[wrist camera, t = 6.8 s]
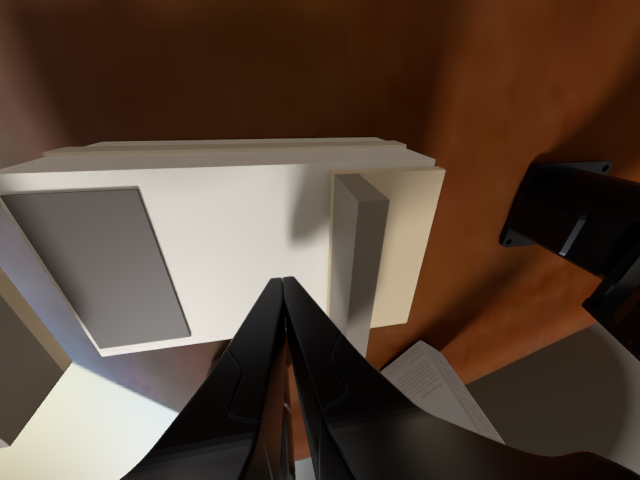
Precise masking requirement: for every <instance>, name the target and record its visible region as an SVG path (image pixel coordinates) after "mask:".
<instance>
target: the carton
mask: <svg viewBox="0 0 640 480" xmlns="http://www.w3.org/2000/svg"><path fill="white" fill-rule="evenodd" d="M406 146H407V145H406V144H403V143H401V142H398V141H385V140H382V139H379V138H377V137H356V138H296V139H236V140H176V141H116V142H99V143H95V144H92V145H88V146H84V147H63V148H59V149H55V150H51V151H47V152H43V153H42V154H43V156H44V158H40V159H37V160H33V161H29V162H26V163H22V164H18V165H15V166H11V167H7V168H4V169H0V204H1V206H2V207H3V209H4V210H5V212H6V213H7V215H8V216H9V218H10V219H11V221H12V222H13V224H14V225H15V227H16V228H17V230H18V231H19V233H20V234H21V236H22V237H23V239H24V240H25V242H26V243H27V245H28V246H29V248H30V249H31V251H32V252H33V254H34V255H35V257H36V258H37V260H38V261H39V263H40V264H41V266H42V267H43V269H44V270H45V272H46V273H47V275H48V276H49V278H50V279H51V281H52V282H53V284H54V285H55V287H56V288H57V290H58V291H59V293H60V294H61V296H62V297H63V299H64V300H65V302H66V303H67V305H68V306H69V308H70V309H71V311H72V312H73V314H74V315H75V317H76V318H77V320H78V321H79V323H80V324H81V326H82V327H83V329H84V330H85V332H86V333H87V335H88V336H89V338H90V339H91V341H92V343H93V344H94V346H95V347H96V349H97V350H98V352H99V353H100V355H101V356H102V357H104V356H111V355H118V354H125V353H132V352H139V351H147V350H154V349H161V348H168V347H175V346H182V345H190V344H197V343H204V342H211V341H218V340H225V339H233V337H234V335H235V334H236V332H237V331H238V329H239V328H240V326H241V324H242V323H243V321H244V320H245V318H246V316H247V315H248V313H249V312H250V310H251V308H252V307H253V305H254V304H255V302H256V301H257V299H258V297H259V296H260V294H261V293H262V291H263V289H264V288H265V286H266V285H267V283H268V281H269V280H270V279H271V278H277V277H281V278H283V277H287V276H294V277H295V278H296V279H297V280H298V282H299V283H300V284H301V285H302V286H303V287H304V289H305V290H306V291H307V292H308V293H309V295H310V296H311V297H312V298H313V299H314V300H315V302H316V303H317V304H318V305H319V306H320V308H321V309H322V310H323V311H324V312H325V313H326V315H327V288H328V256H329V223H330V190H331V170H354V169H381V168H407V167H433V166H434V165H435V159H433V158H430V157H427V156H425V155H422V154H419V153H417V152H414V151H411V150H409V149H406ZM282 282H283V281H282ZM285 321H286V320H285Z"/></svg>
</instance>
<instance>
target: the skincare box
mask: <svg viewBox="0 0 640 480" xmlns="http://www.w3.org/2000/svg"><path fill="white" fill-rule="evenodd" d="M380 373H381V374H382V375H383V376H385V377H386V378H387V379H388V380H389V381H390V382H391V383H392V384H393V385H394V386H395V387H396V388H398V389H399V390H400V391H401V392H402V393H403V394H404V395H405V396H406V397H407V398H409V399H410V400H411V401H412V402H413V403H414V404H416V405H417V406H418V407H420V408H421V409H423V410H424V411H426V412H428V413H430V414H431V415H434V416H436V417H438V418H441V419H443V420H446V421H448V422H451V423H453V424H456V425H458V426H460V427H463V428H465V429H468V430H470V431H473V432H475V433H478V434H480V435H483V436H485V437H488V438H490V439H493V440H495V441H497V442H500V443H502V444H505V443H504V441H503V440H502V439H501V437H500V436H499V434H498V433H497V431H496V430H495V429H494V427H493V426H492V424H491V423H490V422H489V420H488V419H487V417H486V416H485V414H484V413H483V412H482V410H481V409H480V407H479V406H478V404H477V403H476V402H475V400H474V399H473V397H472V396H471V394H470V393H469V392H468V390H467V389H466V387H465V386H464V384H463V383H462V382H461V380H460V379H459V377H458V376H457V374H456V373H455V372H454V370H453V369H452V367H451V366H450V364H449V363H448V362H447V360H446V359H445V357H444V356H443V354H442V353H440V352H439V351H437V350H436V349H434V348H433V347H431V346H430V345H428V344H427V343H425V342H423V341H421V340H420V341H418V342H417V343H416V344H414V345H413V346H412V347H410V348H409V349H408V350H407V351H405V352H404V353H403V354H402V355H400V356H399V357H398V358H397V359H395V360H394V361H393V362H392V363H390V364H389V365H388V366H387V367H385V368H384V369H383V370H382V371H381V372H380Z"/></svg>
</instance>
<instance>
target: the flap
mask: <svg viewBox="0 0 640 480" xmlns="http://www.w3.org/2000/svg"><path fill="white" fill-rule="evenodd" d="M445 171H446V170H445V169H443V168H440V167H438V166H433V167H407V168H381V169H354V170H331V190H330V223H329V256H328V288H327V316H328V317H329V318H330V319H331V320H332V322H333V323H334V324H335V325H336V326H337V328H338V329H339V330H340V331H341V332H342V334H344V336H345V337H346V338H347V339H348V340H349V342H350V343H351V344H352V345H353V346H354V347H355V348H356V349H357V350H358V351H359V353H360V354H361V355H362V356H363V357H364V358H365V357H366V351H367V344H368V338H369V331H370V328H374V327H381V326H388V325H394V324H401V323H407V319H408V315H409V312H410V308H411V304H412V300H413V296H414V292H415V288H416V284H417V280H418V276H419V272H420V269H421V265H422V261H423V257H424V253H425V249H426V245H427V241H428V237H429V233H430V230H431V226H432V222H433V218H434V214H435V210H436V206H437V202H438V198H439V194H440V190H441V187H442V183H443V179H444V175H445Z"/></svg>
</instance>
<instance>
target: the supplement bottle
mask: <svg viewBox="0 0 640 480" xmlns="http://www.w3.org/2000/svg"><path fill="white" fill-rule="evenodd" d="M221 356H222V354H221V355H220V356H219V357H217V358H216V359H215V360H214V362H213V363H212V364H211V366H210V368H209V371H208V374H207V377H208V376H209V374H210V373H211V371H212V370H213V368H214V367H215V365H216V364H217V362H218V361H219V359H220V358H221ZM279 480H296V475H295V458H294V444H293V430H292V416H291V401H290V387H289V375H288V366H287V363H286V362H285V380H284V398H283V416H282V434H281V452H280V471H279Z"/></svg>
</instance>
